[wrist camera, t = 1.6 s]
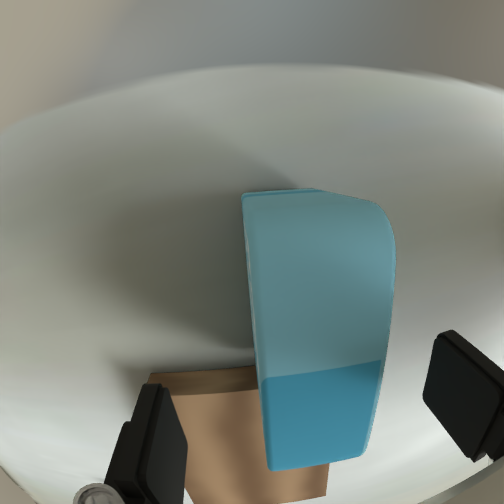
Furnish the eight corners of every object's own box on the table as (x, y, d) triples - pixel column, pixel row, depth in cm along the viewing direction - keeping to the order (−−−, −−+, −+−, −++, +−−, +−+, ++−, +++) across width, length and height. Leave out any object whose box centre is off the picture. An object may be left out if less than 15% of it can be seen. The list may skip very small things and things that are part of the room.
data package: (240, 191, 20) (247, 216, 8) (309, 186, 20) (400, 207, 8) (254, 353, 23) (269, 484, 11) (312, 347, 23) (363, 467, 11)
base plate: (325, 355, 23) (335, 377, 20) (320, 476, 28) (325, 495, 25) (150, 373, 23) (142, 396, 20) (198, 488, 27) (196, 508, 24)
